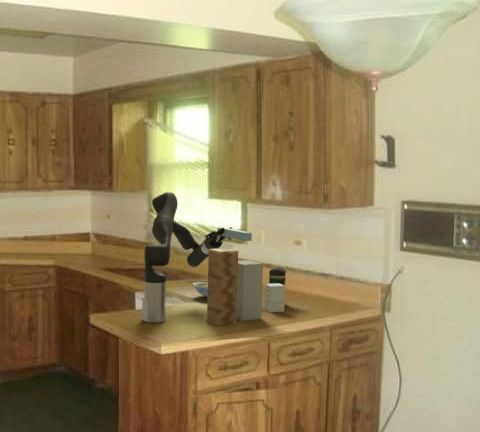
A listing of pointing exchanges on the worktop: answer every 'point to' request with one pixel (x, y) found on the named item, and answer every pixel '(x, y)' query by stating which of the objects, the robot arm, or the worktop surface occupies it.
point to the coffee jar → (277, 276)
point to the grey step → (249, 290)
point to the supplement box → (274, 297)
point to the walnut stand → (222, 287)
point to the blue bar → (237, 234)
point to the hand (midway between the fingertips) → (227, 229)
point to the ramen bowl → (201, 287)
